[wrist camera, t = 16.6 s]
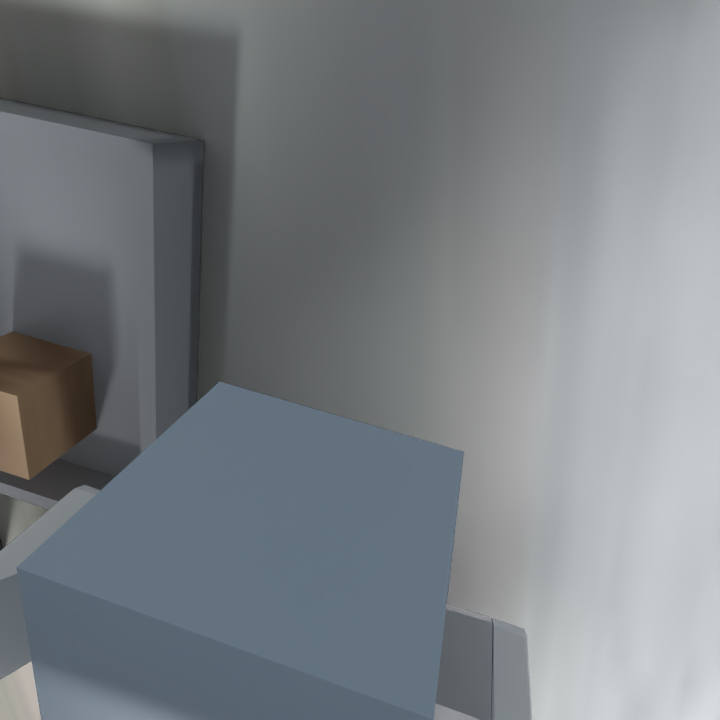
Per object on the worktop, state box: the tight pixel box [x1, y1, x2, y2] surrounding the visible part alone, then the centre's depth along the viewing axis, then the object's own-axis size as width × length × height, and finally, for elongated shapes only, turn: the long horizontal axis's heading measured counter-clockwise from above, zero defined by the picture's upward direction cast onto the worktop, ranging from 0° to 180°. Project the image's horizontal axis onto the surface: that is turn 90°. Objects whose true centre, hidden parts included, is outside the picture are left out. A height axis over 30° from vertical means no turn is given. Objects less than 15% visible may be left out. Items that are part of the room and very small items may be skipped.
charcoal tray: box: [0, 98, 204, 509], centre depth 25 cm, size 19×15×4 cm
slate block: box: [16, 382, 464, 720], centre depth 8 cm, size 4×4×4 cm
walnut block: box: [0, 331, 97, 480], centre depth 25 cm, size 4×4×4 cm
